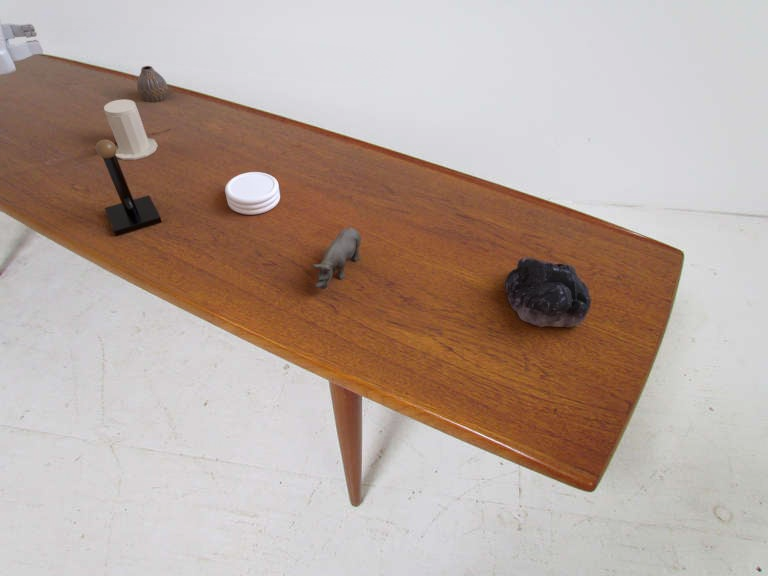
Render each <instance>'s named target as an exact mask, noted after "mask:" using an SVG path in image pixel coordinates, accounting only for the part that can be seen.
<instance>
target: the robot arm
mask: <svg viewBox="0 0 768 576" xmlns="http://www.w3.org/2000/svg"><path fill="white" fill-rule="evenodd" d="M37 36H38V35H37V31H36V29H35V26H34V25H33V24H32V23H22V24H21V23H10V22H9V23H2V21H1V20H0V76H6V75H9V74H10V75H11V74H12V73H15V72H16V70H17V69H16V64H15V62H19V61H23V60H25V59H28V58H30V57H32V56H37V55H41V54H43V53H44V51H43V47H42V45H41V43H40V41H39V40H38V39H32V40H26V42H23V43H19V44H15V43H11V44H10V41H9V40H12V39H16V38H25V37H26V39H27V38H34V37H35V38H36V37H37Z"/></svg>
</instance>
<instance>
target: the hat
mask: <svg viewBox="0 0 768 576" xmlns="http://www.w3.org/2000/svg"><path fill="white" fill-rule="evenodd" d="M103 110H104V113H105V116H106V118H107V121H108V124H109V126H110V129H111V131H112V134H113V136H114V139H115V142H116V143H114V144H115V146H116V149H117V151H116V154H115V155H116V157H117V159H119V160H122V161H136V160H140V159H144V158H147V157H149V156H150V155H152V154H154V153H155V152H156V150H157V149H158V147H159V146H158V143H157V142H156V140H155V139H153V138H151V137H148V136H147V133H146V130H145V128H144V124H143V121H142V119H141V115H140V112H139V109H138V107H137V104H136V102H135V101H133V100H131V99H115V100H112V101H110V102H107V103H106V104H105V105H104V106H103Z"/></svg>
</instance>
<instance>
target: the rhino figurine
mask: <svg viewBox="0 0 768 576" xmlns="http://www.w3.org/2000/svg"><path fill="white" fill-rule="evenodd" d="M361 238H362V236H361V234H360V232H359V231H358V230H357V229H355V228H354V227H347V228H343V229H342V230H340V231H339V233H338V234H337V236H336V238H334V239H333V241H332V242H331V243H330V245H329V246H328V247H327V248H326V250H325V251H324V252H323V255H322V260H321V262H320V263H319V264H315V263H314V264H312V267H313V268H314V269H316V270H318V269H319V270H318V274H317V279H318V281H317V284H315V285H314V286H315V288H317V289H319V288H320V289H321V290H325V289H327V288H328V285H329V284H330V281H332V277H333V276H334V272H335V271H336V270H337V273H336V278H338V279H340V280H343V279H345V278H346V273H345V271H344V269H345V267H346V265H347V261H349V260H350V259H351V260H353V261H354V262H357V261H360V260H361V256H360V254H359V253H360V252H359V251H360V245H361V241H362V239H361Z"/></svg>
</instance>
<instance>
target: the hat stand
mask: <svg viewBox="0 0 768 576" xmlns="http://www.w3.org/2000/svg"><path fill="white" fill-rule="evenodd" d="M115 144H116V143H115V142H113V141H111V140H109V139H101V140H98V141H97V143H96V145H95V151H96V153H97V155H98V156H99V157H101V158H102V159H103V162H104V164H105V167H106V169H107V171H108V174H109V176H110V179H111V181H112V183H113V186H114V188H115V191H116V193H117V195H118V197H119V200H120V203H116V204H113V205H109V206H106V207H104V211H105V213H106V217H107V218H108V221H109V223H110V226H111V229H112V231H113V233H114V235H115V237H119V236H121V235H124V234H125V235H126V234H128V233H131V232H134V231H135V232H136V231H138V230H141V229H144V228H147V227H151V226H155V225H158V224H161V223H163V221H162V218H161V215H160V214H159V211H158V210H157V208H156V206H155V204H154V202H153V200H152V198H151V197H150V196H151V195H145V196H142V197H138V198H135V199H134V198H133V195H132V192H131V190H130V187H129V184H128V182H127V181H126V178H125V175H124V173H123V169H122V167H121V165H120V162H119V160H118V158H117V157H116V155H115V154H116V151H117V149H116V146H115Z"/></svg>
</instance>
